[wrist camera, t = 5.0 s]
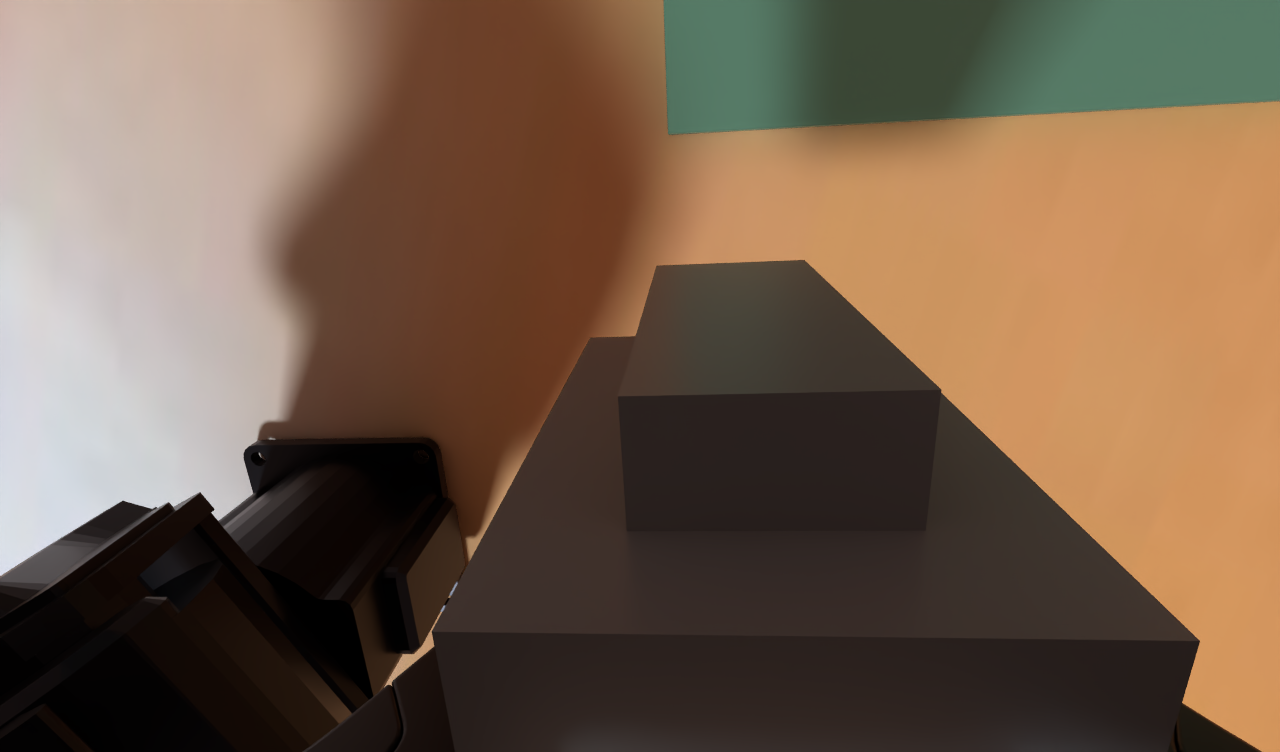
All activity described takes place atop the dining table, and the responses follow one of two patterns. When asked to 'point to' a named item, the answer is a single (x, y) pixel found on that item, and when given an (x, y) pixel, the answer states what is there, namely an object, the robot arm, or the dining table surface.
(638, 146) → the dining table surface
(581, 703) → the plug
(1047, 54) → the board
